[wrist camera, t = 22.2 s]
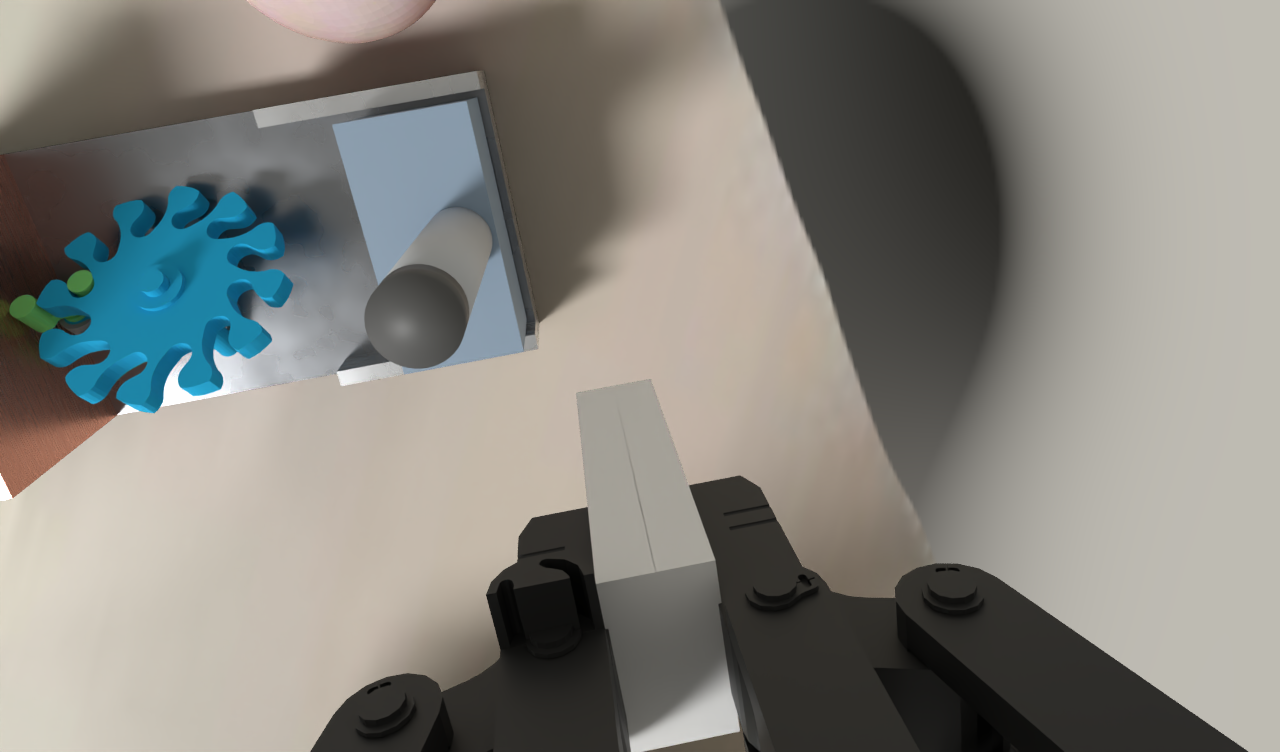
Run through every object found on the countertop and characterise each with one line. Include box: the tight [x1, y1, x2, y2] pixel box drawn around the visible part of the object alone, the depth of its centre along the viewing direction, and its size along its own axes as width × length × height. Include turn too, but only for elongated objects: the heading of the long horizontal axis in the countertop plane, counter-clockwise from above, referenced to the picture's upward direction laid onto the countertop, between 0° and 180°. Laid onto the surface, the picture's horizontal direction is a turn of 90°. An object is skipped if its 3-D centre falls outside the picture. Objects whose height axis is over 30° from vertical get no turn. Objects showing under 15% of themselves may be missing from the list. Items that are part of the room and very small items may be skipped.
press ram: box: [332, 97, 527, 374], centre depth 29 cm, size 10×5×16 cm, turn 9°
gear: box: [9, 186, 294, 413], centre depth 35 cm, size 11×6×10 cm
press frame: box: [0, 71, 539, 501], centre depth 34 cm, size 12×24×10 cm, turn 99°
